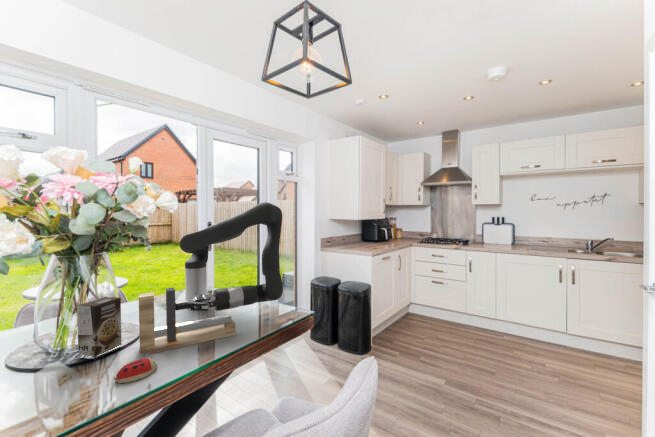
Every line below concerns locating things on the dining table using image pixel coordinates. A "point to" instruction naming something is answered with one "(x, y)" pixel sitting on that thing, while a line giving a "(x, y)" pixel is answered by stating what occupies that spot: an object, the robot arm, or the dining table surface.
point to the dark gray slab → (170, 314)
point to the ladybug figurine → (136, 370)
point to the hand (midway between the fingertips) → (174, 306)
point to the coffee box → (99, 326)
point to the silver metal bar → (195, 325)
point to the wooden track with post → (182, 339)
